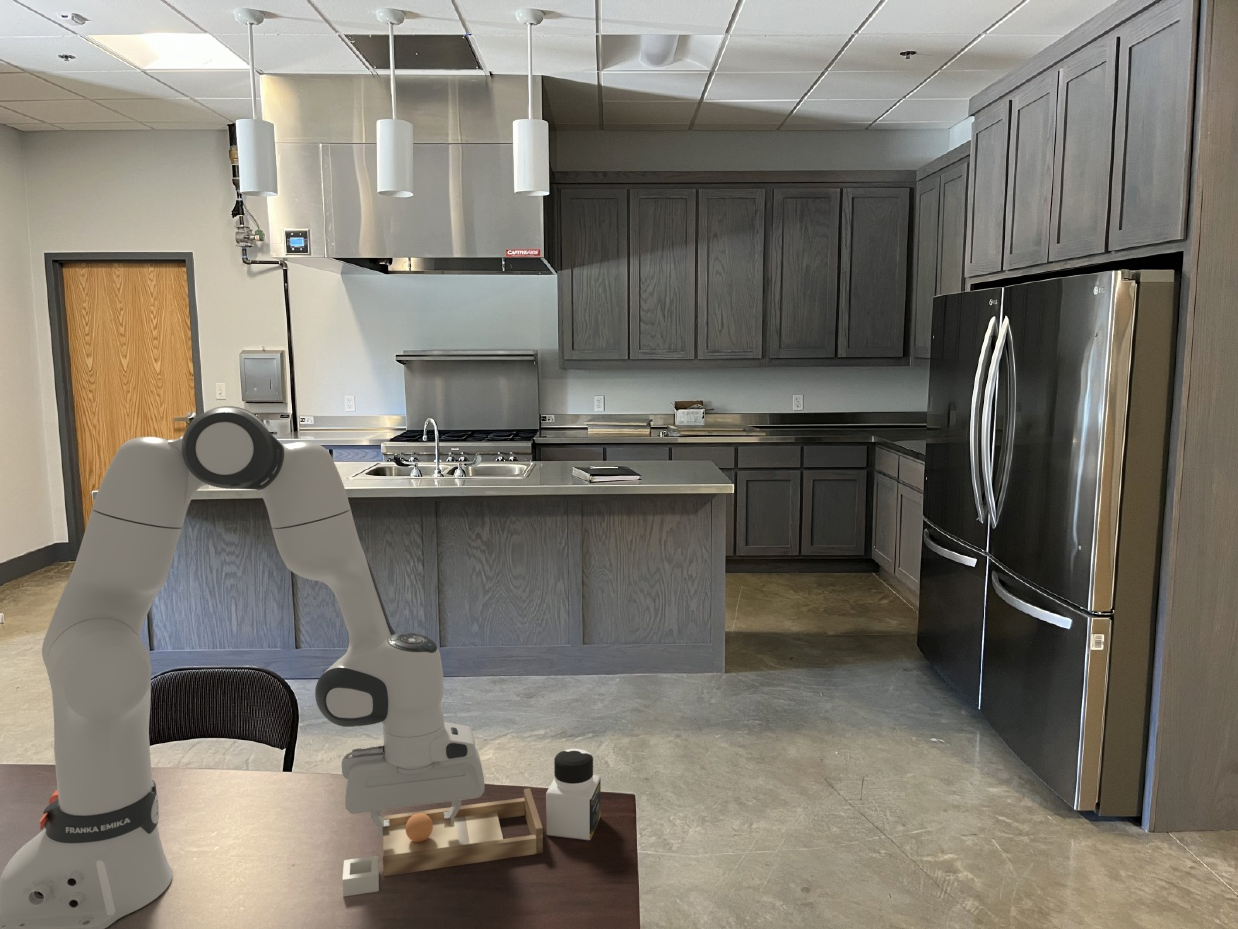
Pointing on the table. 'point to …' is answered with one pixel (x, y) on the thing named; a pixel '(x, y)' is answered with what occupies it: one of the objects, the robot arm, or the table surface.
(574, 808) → the medicine bottle
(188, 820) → the table surface
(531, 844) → the lane
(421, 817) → the ball
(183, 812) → the table surface
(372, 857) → the square ring
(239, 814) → the table surface
